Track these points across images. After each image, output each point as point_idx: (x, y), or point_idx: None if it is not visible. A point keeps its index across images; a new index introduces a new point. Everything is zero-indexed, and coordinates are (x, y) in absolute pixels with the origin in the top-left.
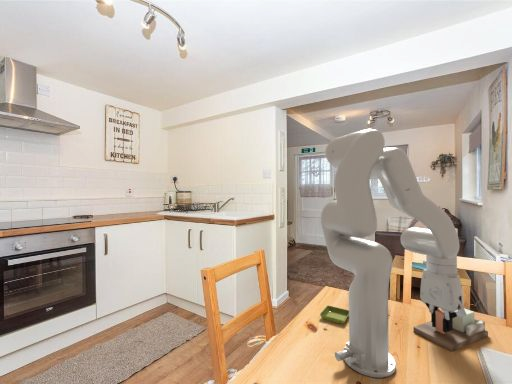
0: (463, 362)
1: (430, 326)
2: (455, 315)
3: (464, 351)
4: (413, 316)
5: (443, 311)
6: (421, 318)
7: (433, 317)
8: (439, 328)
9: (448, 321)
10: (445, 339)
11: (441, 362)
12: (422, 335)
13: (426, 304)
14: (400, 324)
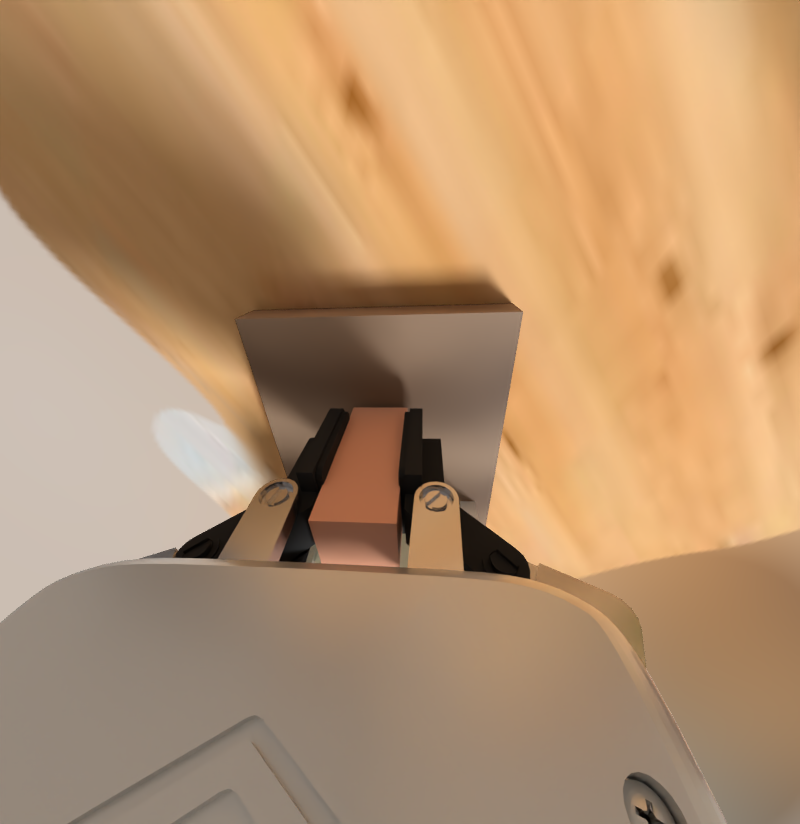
0: (146, 259)
1: (456, 425)
2: (184, 550)
3: (247, 377)
4: (605, 474)
5: (353, 557)
6: (561, 488)
7: (408, 455)
8: (378, 421)
9: (292, 478)
10: (307, 360)
11: (134, 71)
12: (441, 306)
13: (509, 556)
14: (632, 306)
